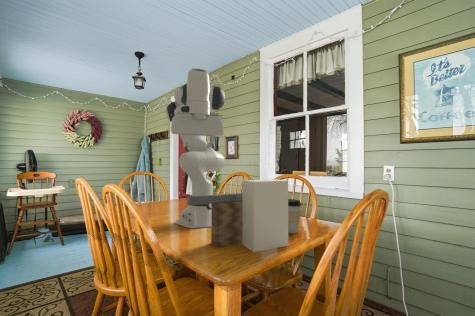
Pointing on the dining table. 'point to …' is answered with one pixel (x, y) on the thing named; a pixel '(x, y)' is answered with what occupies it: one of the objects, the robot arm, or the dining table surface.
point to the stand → (265, 214)
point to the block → (227, 223)
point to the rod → (214, 199)
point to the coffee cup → (293, 215)
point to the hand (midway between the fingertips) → (198, 147)
